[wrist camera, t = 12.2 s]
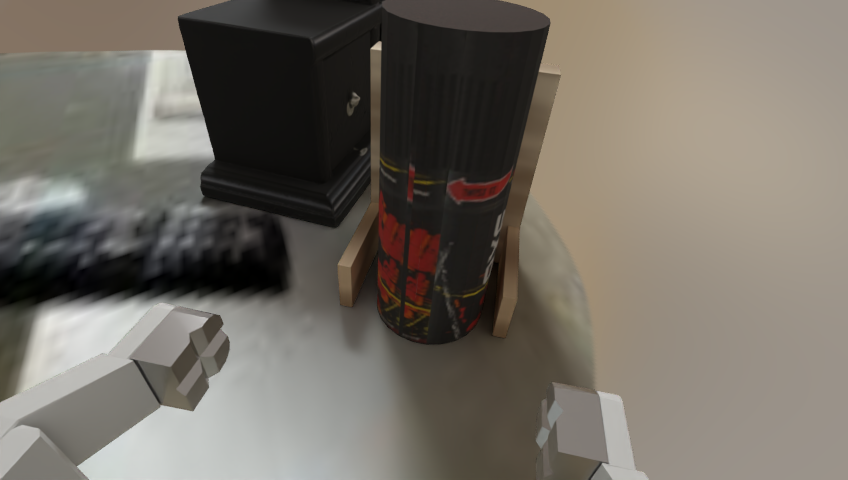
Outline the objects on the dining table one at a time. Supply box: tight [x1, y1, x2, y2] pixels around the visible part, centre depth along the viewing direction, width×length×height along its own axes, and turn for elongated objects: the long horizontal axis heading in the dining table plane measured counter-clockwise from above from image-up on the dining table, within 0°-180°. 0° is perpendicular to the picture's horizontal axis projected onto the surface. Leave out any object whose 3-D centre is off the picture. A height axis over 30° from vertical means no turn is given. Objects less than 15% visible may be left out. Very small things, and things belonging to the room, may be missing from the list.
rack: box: [337, 41, 561, 338], centre depth 23 cm, size 8×9×12 cm
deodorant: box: [377, 0, 550, 344], centre depth 20 cm, size 6×6×15 cm
